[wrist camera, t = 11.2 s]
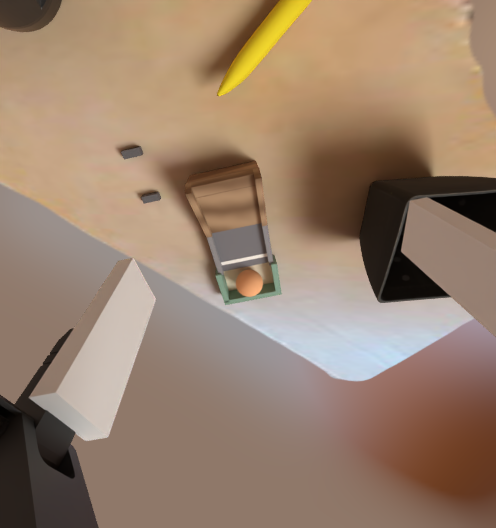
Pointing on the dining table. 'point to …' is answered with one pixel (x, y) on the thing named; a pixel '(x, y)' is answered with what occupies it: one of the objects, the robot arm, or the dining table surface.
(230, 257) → the runway
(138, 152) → the grey flat pieces
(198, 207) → the ramp
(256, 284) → the ball
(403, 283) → the flower pot
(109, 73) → the dining table surface
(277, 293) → the green open tray
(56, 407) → the robot arm
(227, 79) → the banana
